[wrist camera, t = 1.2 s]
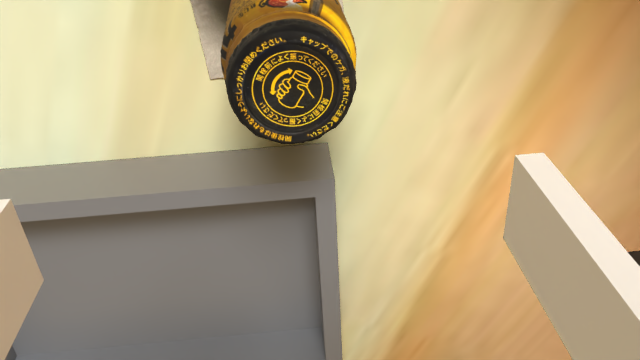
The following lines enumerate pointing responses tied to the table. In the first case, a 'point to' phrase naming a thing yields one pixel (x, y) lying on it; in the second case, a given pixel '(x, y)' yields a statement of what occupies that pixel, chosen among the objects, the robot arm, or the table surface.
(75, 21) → the table surface
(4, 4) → the table surface
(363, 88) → the table surface
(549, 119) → the table surface
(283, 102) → the condiment
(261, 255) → the tray
